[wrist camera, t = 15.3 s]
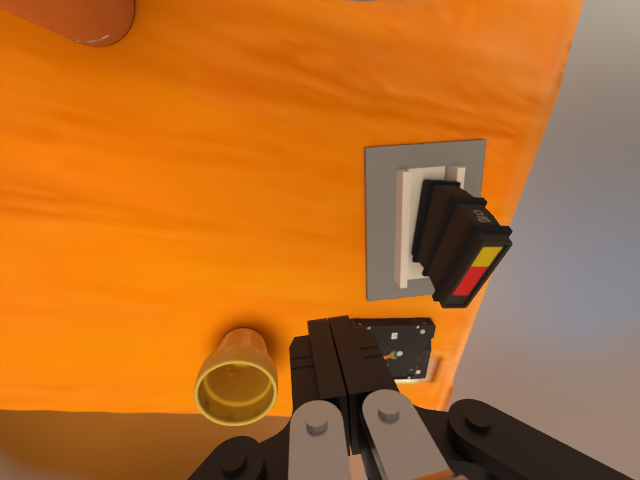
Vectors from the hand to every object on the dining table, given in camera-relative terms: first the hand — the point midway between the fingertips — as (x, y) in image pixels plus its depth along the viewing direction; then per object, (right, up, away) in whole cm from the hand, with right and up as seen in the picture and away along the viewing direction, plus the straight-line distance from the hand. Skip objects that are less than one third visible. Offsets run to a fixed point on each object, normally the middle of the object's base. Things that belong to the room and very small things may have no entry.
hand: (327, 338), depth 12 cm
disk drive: (+10, -13, +41) cm, 44 cm away
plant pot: (-12, -12, +38) cm, 41 cm away
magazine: (+14, +6, +33) cm, 37 cm away
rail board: (+14, +6, +34) cm, 37 cm away
